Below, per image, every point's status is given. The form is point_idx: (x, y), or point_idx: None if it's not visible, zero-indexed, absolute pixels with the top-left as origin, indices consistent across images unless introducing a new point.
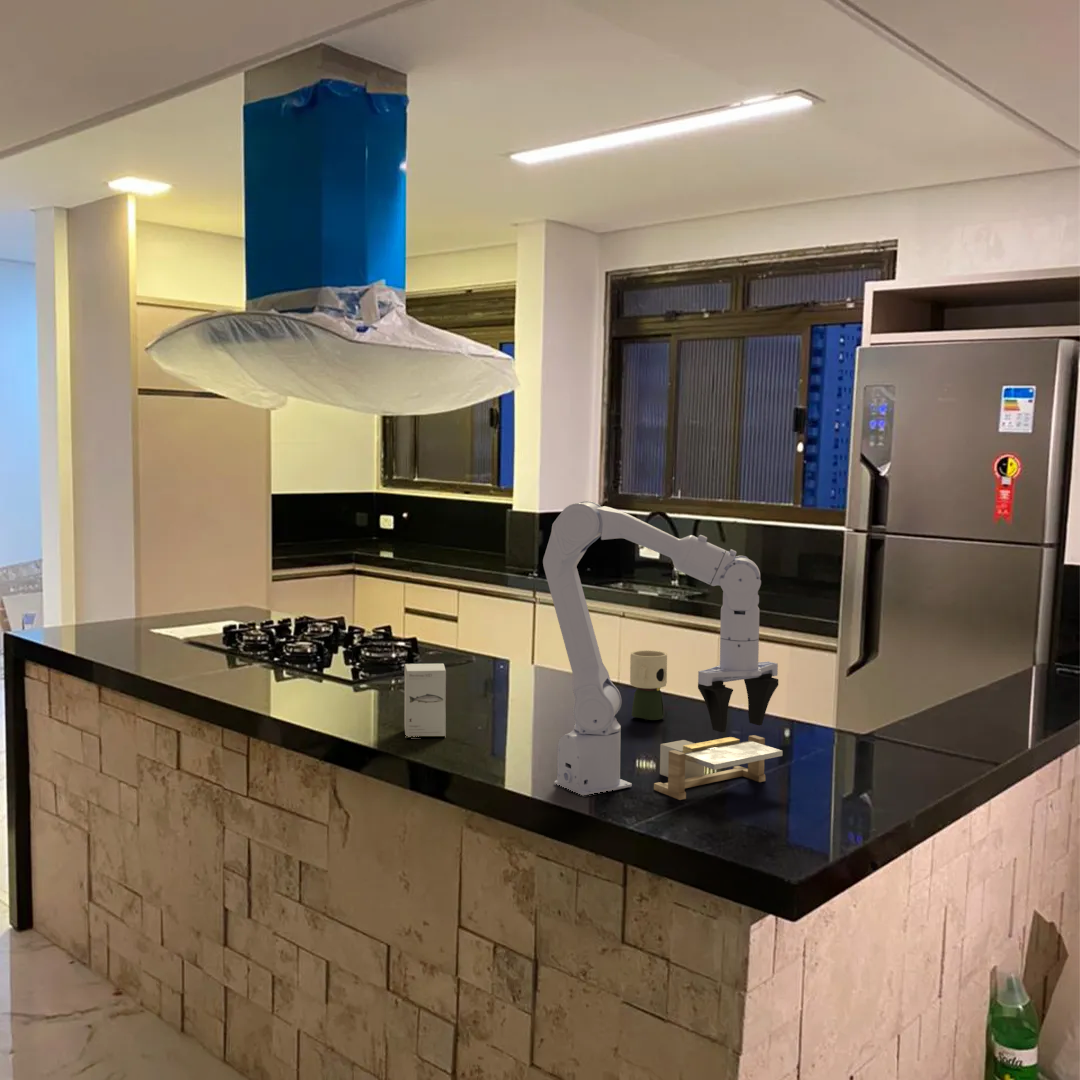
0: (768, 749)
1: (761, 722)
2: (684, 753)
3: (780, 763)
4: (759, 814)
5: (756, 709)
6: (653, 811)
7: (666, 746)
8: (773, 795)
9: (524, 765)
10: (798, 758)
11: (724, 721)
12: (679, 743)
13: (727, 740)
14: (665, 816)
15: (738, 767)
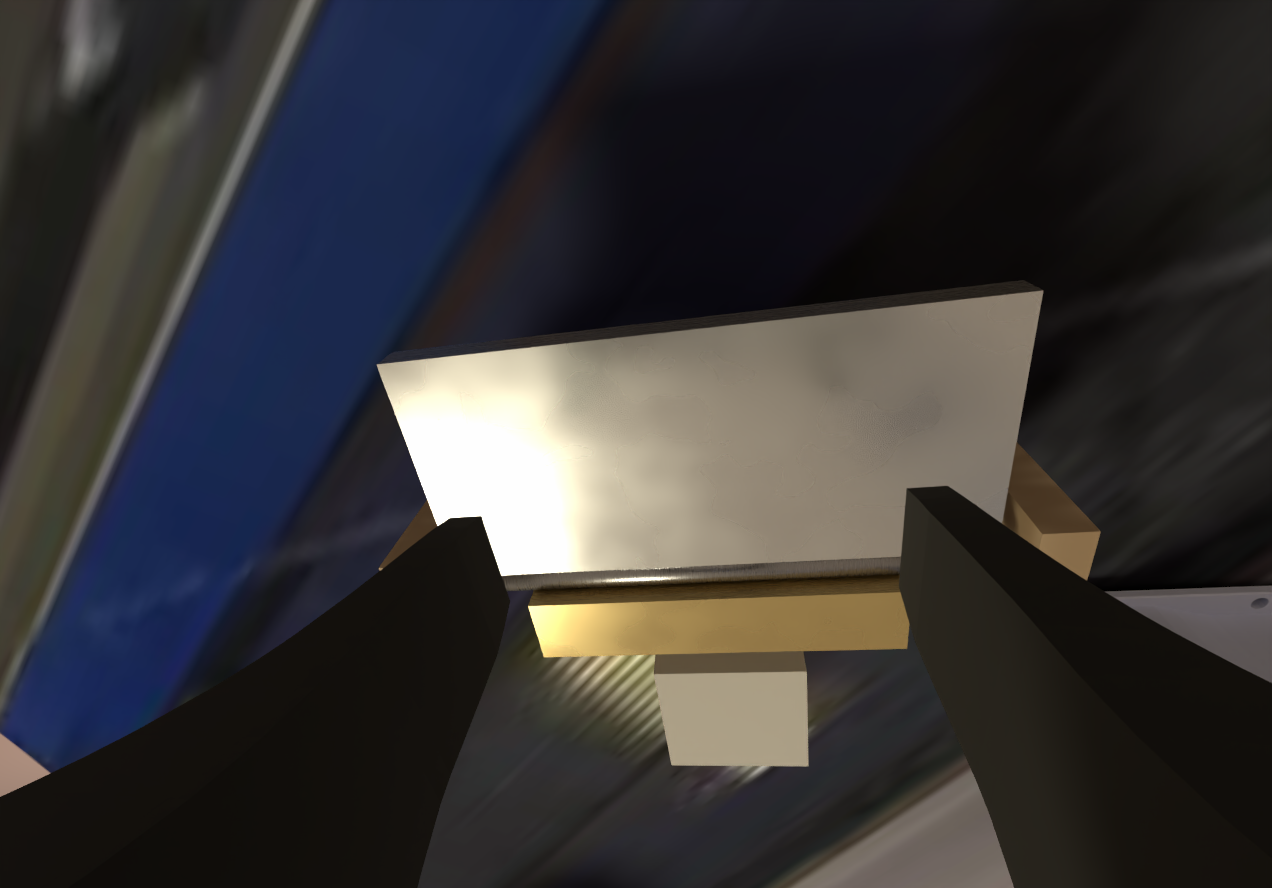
0: (452, 421)
1: (449, 527)
2: (1043, 538)
3: (301, 571)
4: (802, 10)
5: (436, 650)
6: (1232, 314)
7: (807, 738)
8: (536, 263)
9: None
10: (211, 584)
11: (993, 534)
12: (726, 742)
13: (605, 619)
14: (1262, 220)
15: None
